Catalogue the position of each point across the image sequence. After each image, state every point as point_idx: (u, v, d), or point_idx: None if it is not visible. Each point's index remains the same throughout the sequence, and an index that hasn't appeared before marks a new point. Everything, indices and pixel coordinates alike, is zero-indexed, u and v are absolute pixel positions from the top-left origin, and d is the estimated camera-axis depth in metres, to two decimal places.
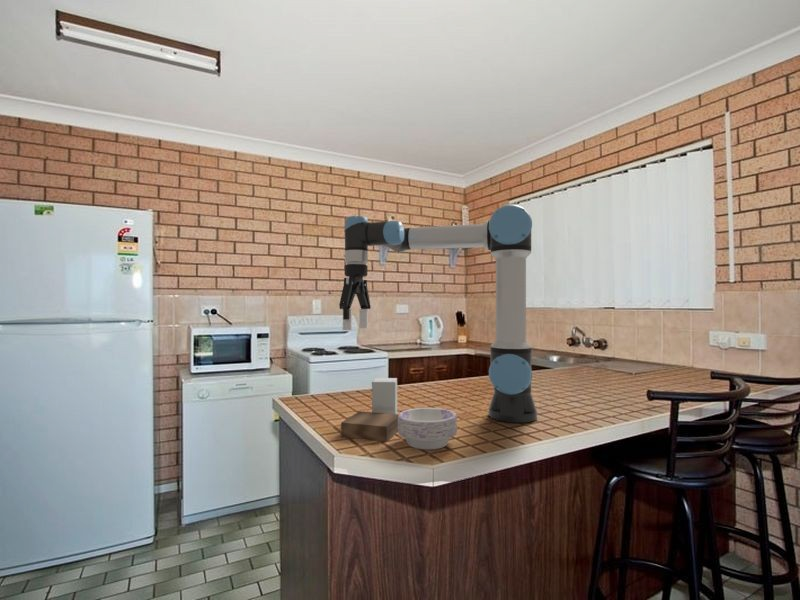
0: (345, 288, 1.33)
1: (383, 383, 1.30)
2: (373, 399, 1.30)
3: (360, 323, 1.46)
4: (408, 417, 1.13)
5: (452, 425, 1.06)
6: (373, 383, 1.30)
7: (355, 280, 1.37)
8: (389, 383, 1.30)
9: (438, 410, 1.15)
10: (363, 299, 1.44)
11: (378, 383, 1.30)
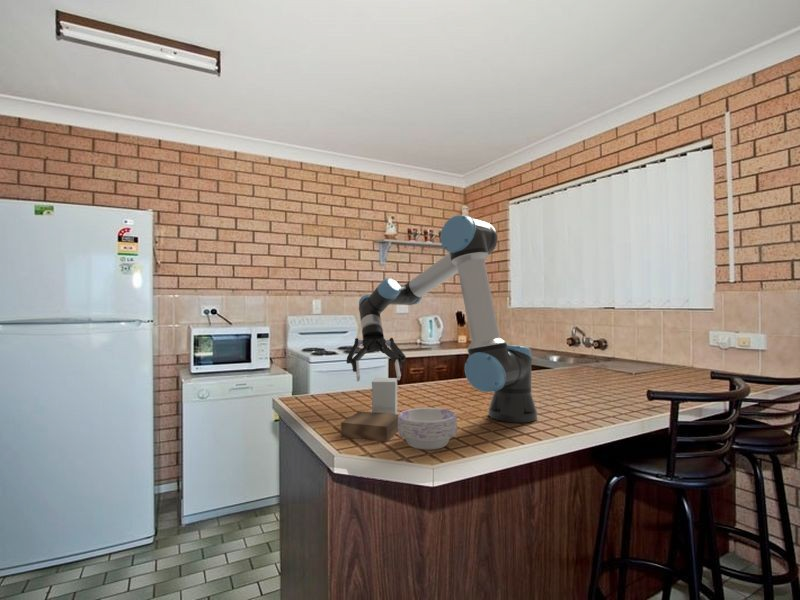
0: None
1: (383, 383, 1.30)
2: (373, 399, 1.30)
3: (397, 375, 1.43)
4: (408, 417, 1.13)
5: (452, 425, 1.06)
6: (373, 383, 1.30)
7: (365, 339, 1.50)
8: (389, 383, 1.30)
9: (438, 410, 1.15)
10: (389, 353, 1.48)
11: (378, 383, 1.30)
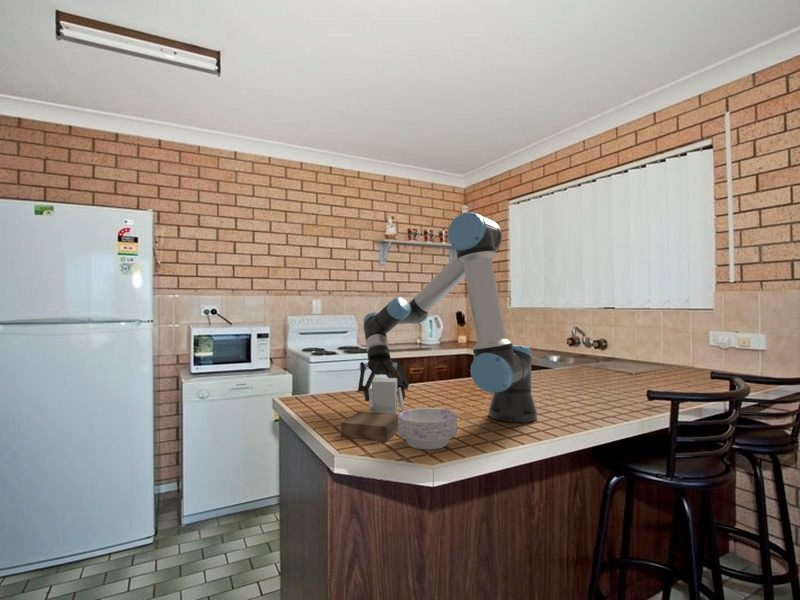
0: None
1: (383, 383, 1.30)
2: (373, 399, 1.30)
3: (399, 405, 1.33)
4: (408, 417, 1.13)
5: (452, 425, 1.06)
6: (373, 383, 1.30)
7: (371, 361, 1.41)
8: (389, 383, 1.30)
9: (438, 410, 1.15)
10: None
11: (378, 383, 1.30)
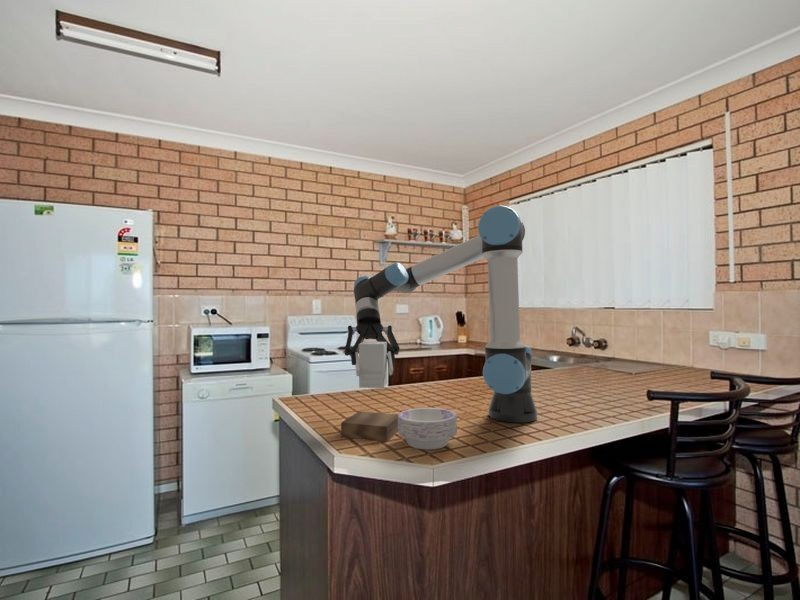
0: None
1: (371, 345, 1.21)
2: (360, 362, 1.21)
3: (389, 369, 1.24)
4: (408, 417, 1.13)
5: (452, 425, 1.06)
6: (360, 345, 1.21)
7: (360, 325, 1.32)
8: (377, 345, 1.21)
9: (438, 410, 1.15)
10: None
11: (365, 345, 1.21)
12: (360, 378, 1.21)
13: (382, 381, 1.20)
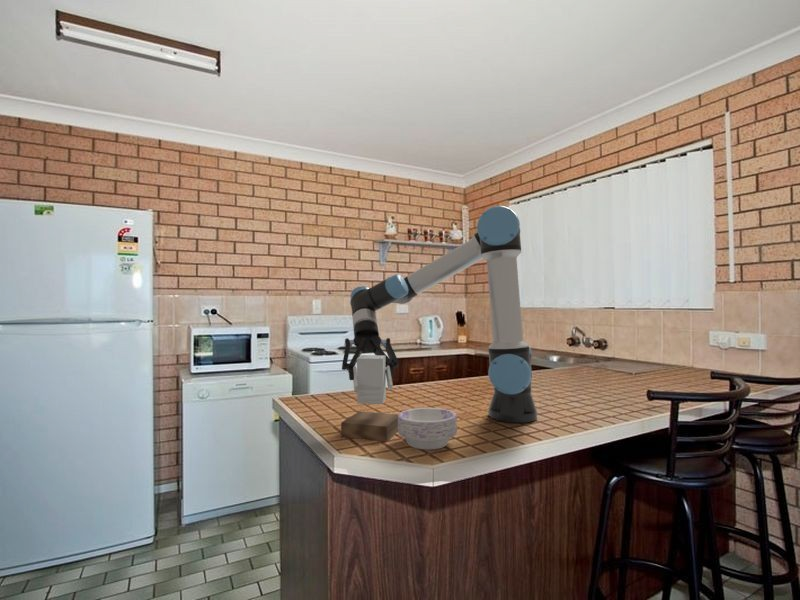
0: None
1: (369, 360, 1.17)
2: (358, 377, 1.17)
3: (388, 384, 1.20)
4: (408, 417, 1.13)
5: (452, 425, 1.06)
6: (358, 360, 1.17)
7: (357, 338, 1.27)
8: (376, 360, 1.16)
9: (438, 410, 1.15)
10: None
11: (364, 360, 1.17)
12: (358, 394, 1.17)
13: (381, 397, 1.16)
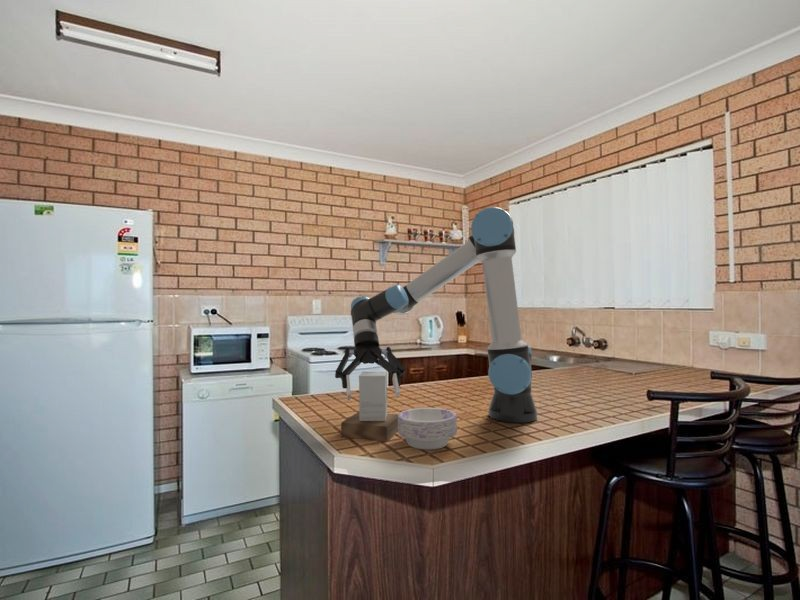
0: None
1: (372, 377, 1.16)
2: (360, 395, 1.16)
3: (395, 392, 1.21)
4: (408, 417, 1.13)
5: (452, 425, 1.06)
6: (360, 377, 1.17)
7: (358, 349, 1.27)
8: (378, 377, 1.16)
9: (438, 410, 1.15)
10: (386, 365, 1.25)
11: (366, 377, 1.17)
12: (360, 411, 1.16)
13: (383, 414, 1.16)
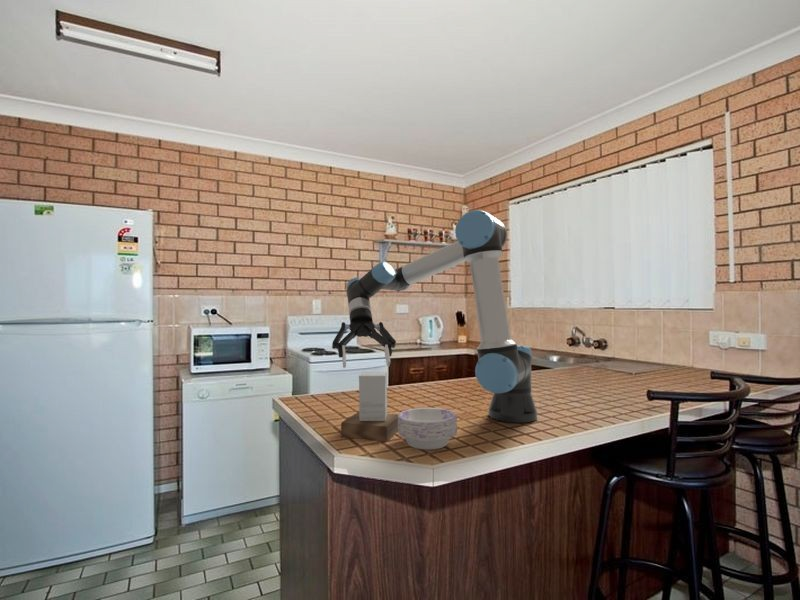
0: None
1: (372, 377, 1.16)
2: (360, 395, 1.16)
3: (386, 361, 1.34)
4: (408, 417, 1.13)
5: (452, 425, 1.06)
6: (360, 377, 1.17)
7: (353, 324, 1.40)
8: (378, 377, 1.16)
9: (438, 410, 1.15)
10: (378, 338, 1.38)
11: (366, 377, 1.17)
12: (360, 411, 1.16)
13: (383, 414, 1.16)
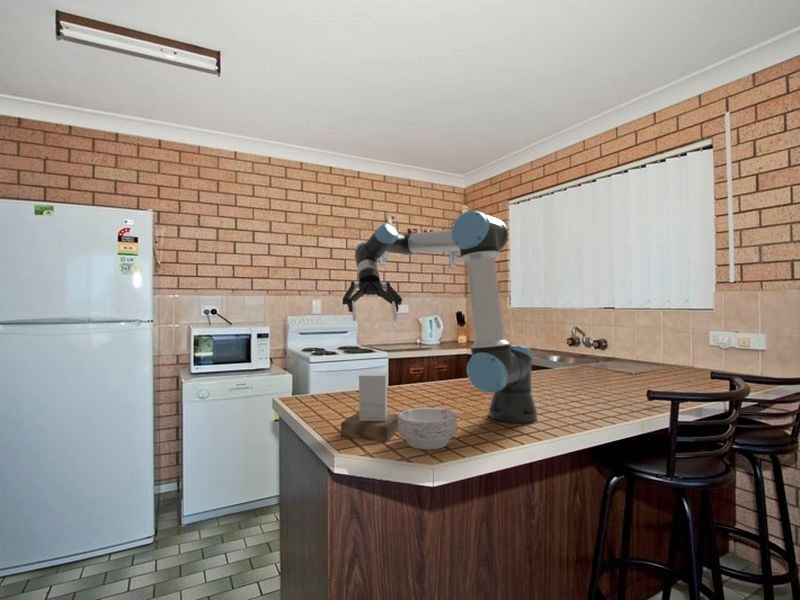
0: None
1: (372, 377, 1.16)
2: (360, 395, 1.16)
3: (393, 316, 1.42)
4: (408, 417, 1.13)
5: (452, 425, 1.06)
6: (360, 377, 1.17)
7: (362, 283, 1.49)
8: (378, 377, 1.16)
9: (438, 410, 1.15)
10: (385, 295, 1.46)
11: (366, 377, 1.17)
12: (360, 411, 1.16)
13: (383, 414, 1.16)
